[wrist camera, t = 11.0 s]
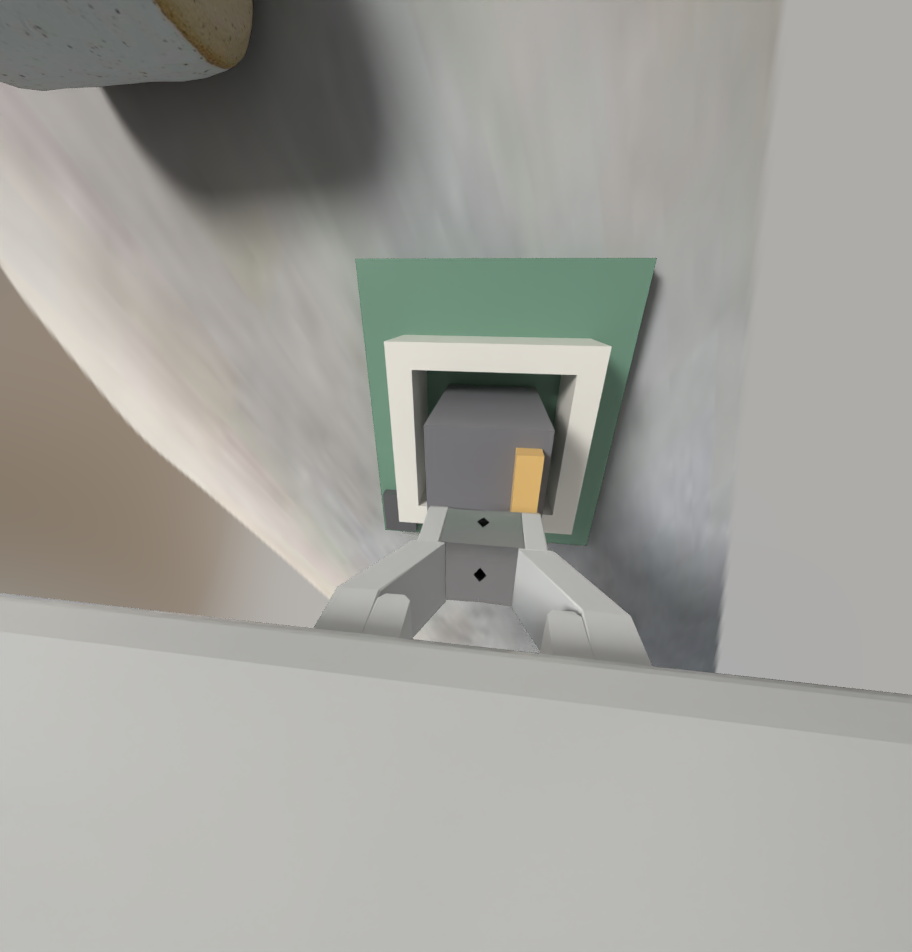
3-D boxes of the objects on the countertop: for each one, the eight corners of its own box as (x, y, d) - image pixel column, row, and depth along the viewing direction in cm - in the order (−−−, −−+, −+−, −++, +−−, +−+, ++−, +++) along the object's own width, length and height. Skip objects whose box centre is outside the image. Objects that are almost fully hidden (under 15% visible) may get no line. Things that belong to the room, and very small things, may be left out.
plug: (449, 384, 16) (419, 432, 10) (535, 386, 15) (557, 437, 9) (449, 461, 17) (425, 539, 12) (526, 465, 17) (540, 548, 11)
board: (363, 261, 15) (321, 247, 11) (646, 261, 14) (698, 245, 10) (389, 520, 21) (368, 563, 18) (582, 534, 20) (600, 584, 16)
